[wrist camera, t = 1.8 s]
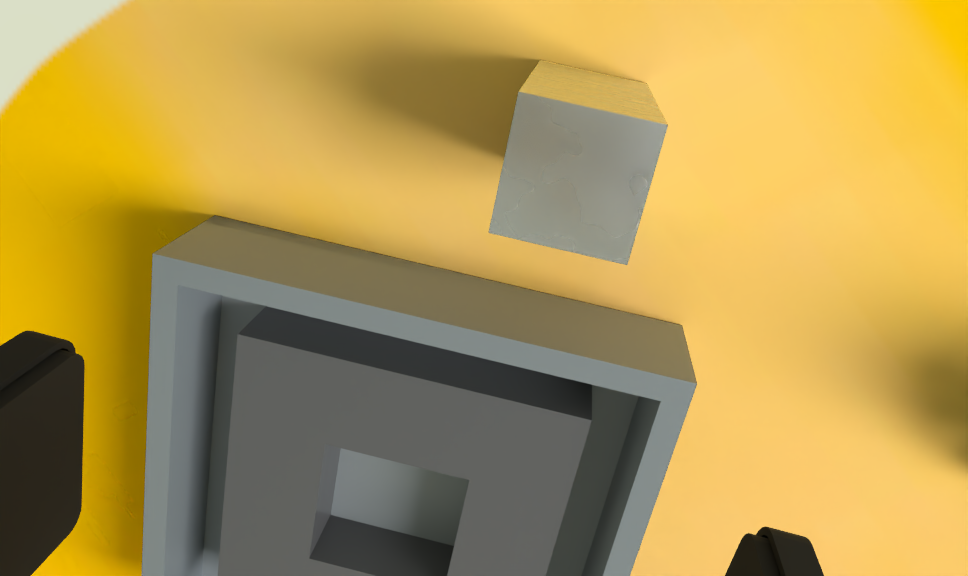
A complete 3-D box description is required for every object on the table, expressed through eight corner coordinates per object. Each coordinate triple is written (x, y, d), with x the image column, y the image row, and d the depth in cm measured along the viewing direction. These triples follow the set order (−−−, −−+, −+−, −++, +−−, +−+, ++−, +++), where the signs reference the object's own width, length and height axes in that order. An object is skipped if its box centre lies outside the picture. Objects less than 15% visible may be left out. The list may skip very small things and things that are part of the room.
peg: (646, 83, 29) (667, 125, 20) (618, 187, 30) (626, 265, 22) (540, 59, 29) (518, 91, 20) (517, 164, 30) (488, 232, 22)
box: (682, 325, 32) (696, 383, 27) (566, 673, 40) (563, 765, 35) (214, 215, 33) (152, 253, 28) (190, 576, 40) (138, 652, 36)
